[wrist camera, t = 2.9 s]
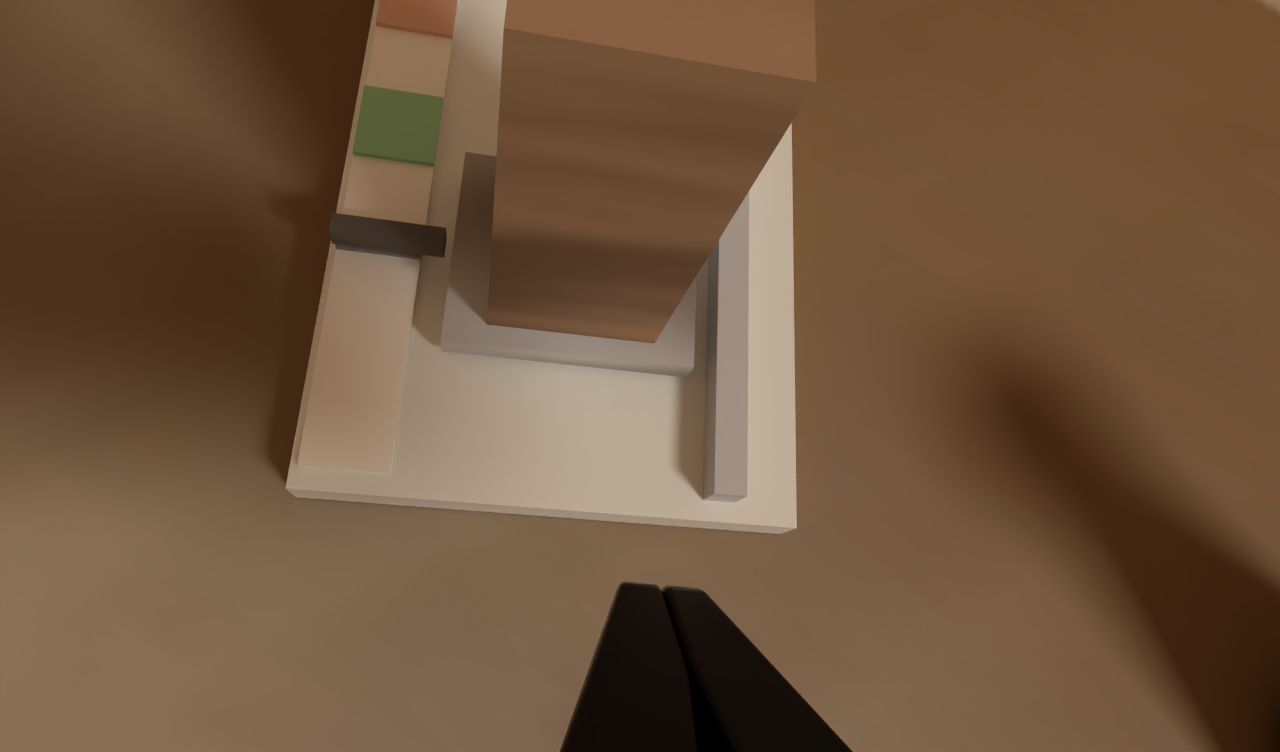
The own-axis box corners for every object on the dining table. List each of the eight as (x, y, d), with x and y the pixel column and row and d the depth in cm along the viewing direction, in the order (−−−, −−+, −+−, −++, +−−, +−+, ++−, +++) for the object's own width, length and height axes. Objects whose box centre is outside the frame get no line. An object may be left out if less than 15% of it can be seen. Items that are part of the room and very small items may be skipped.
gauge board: (779, 534, 22) (919, 485, 15) (296, 497, 20) (205, 421, 13) (775, -155, 29) (867, -394, 22) (426, -232, 27) (411, -521, 20)
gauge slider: (685, 377, 21) (890, 128, 11) (319, 337, 19) (154, 5, 9) (691, 201, 22) (874, -161, 12) (352, 152, 21) (243, -306, 11)
